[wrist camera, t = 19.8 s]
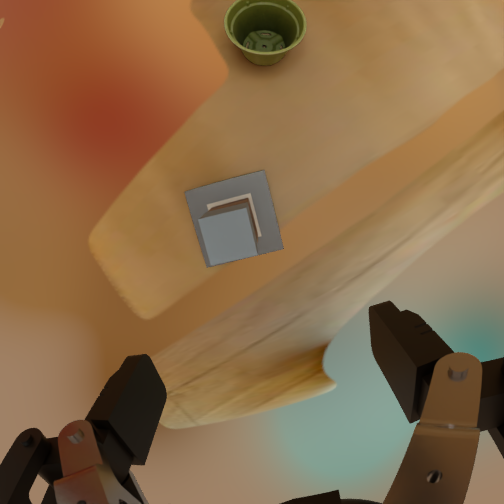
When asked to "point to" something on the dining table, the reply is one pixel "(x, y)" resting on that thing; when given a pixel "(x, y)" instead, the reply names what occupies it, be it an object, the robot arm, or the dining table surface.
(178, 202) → the dining table surface
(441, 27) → the dining table surface
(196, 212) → the plate
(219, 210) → the blue block
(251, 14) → the plant pot
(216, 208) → the walnut block
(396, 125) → the dining table surface
